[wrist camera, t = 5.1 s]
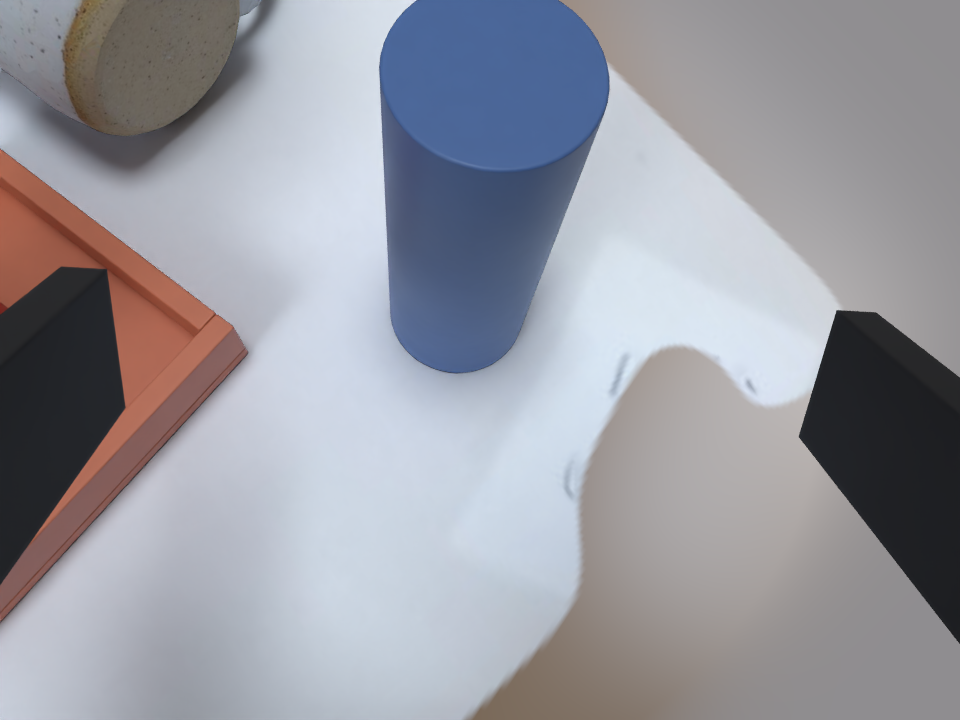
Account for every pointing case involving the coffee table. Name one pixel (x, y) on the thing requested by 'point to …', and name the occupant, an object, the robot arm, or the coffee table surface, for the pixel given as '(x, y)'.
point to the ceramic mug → (119, 56)
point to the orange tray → (141, 347)
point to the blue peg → (480, 165)
